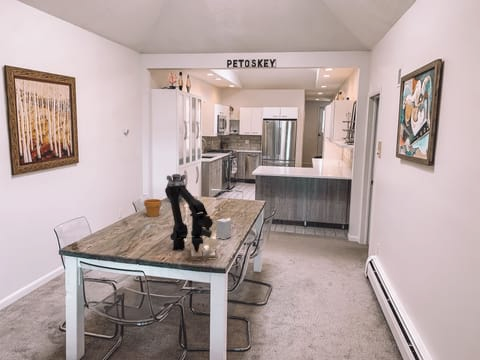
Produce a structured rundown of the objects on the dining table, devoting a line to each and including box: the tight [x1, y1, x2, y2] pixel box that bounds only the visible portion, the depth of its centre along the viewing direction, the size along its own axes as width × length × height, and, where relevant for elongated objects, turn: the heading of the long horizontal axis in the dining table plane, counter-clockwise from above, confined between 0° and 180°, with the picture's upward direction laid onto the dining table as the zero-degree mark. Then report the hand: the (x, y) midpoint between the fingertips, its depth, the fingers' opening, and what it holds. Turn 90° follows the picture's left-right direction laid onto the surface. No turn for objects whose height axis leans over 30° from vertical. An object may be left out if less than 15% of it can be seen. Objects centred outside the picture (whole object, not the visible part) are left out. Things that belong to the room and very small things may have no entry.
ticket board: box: [184, 249, 218, 261], centre depth 205 cm, size 18×12×2 cm, turn 99°
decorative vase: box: [166, 173, 187, 203], centre depth 351 cm, size 21×19×28 cm
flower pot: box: [143, 198, 163, 218], centre depth 294 cm, size 14×14×13 cm
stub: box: [190, 244, 203, 256], centre depth 204 cm, size 6×9×6 cm, turn 9°
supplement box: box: [215, 218, 232, 239], centre depth 240 cm, size 7×7×13 cm
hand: (196, 250), depth 204 cm, fingers closed on stub, 3 cm apart
